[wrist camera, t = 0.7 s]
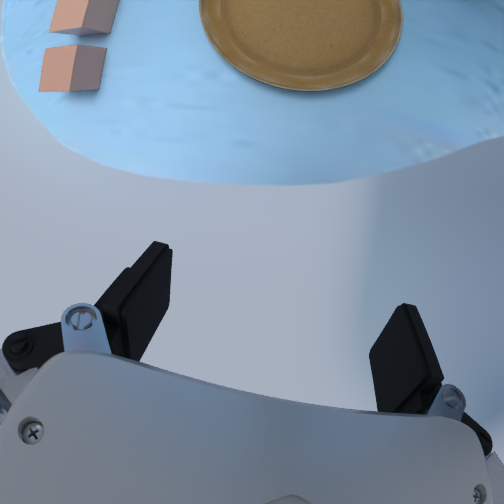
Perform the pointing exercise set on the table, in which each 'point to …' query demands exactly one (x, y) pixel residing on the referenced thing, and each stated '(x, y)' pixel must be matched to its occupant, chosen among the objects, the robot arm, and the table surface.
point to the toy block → (83, 17)
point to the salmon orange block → (72, 68)
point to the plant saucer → (303, 39)
